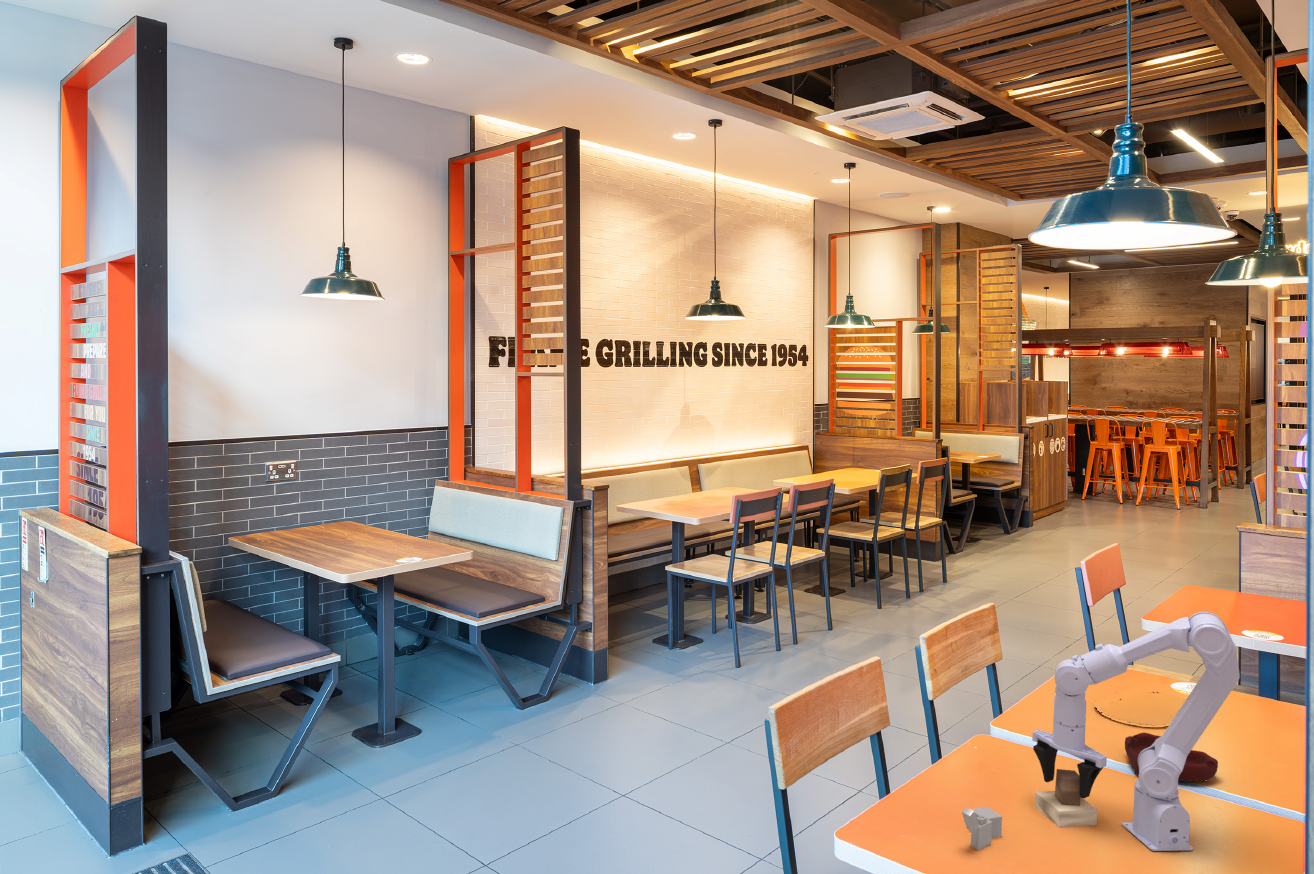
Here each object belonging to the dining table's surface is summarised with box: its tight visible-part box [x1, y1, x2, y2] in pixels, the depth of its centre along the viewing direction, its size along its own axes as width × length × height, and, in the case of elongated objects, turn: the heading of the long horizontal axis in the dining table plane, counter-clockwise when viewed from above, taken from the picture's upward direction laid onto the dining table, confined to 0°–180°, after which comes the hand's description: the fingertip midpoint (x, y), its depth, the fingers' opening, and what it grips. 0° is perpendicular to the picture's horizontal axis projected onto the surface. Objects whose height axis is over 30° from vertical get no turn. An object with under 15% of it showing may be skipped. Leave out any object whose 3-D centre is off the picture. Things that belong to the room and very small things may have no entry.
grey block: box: [970, 806, 1003, 840], centre depth 161 cm, size 4×4×4 cm
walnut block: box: [1054, 768, 1081, 806], centre depth 167 cm, size 4×4×6 cm
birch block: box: [1034, 790, 1098, 828], centre depth 168 cm, size 8×8×4 cm
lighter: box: [961, 806, 992, 851], centre depth 156 cm, size 7×2×8 cm, turn 125°
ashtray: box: [1124, 732, 1219, 782], centre depth 188 cm, size 18×16×5 cm
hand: (1066, 788), depth 168 cm, fingers open, 7 cm apart
